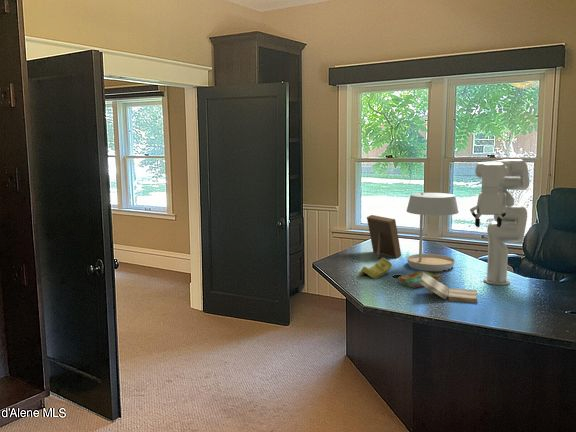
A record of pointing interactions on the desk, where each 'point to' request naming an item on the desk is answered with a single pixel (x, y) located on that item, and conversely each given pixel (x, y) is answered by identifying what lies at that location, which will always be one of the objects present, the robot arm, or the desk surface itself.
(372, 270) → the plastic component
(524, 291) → the desk surface
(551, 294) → the desk surface
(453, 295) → the oak floorboard
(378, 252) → the photo frame
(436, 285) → the birch plank
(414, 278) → the puzzle game
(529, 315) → the desk surface
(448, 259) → the lamp
